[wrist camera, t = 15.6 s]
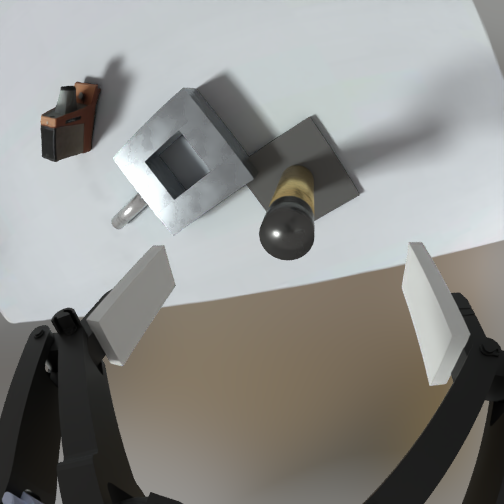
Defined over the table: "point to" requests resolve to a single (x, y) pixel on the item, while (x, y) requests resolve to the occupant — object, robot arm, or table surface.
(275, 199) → the gold and black cylinder
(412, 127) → the table surface
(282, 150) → the pad
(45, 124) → the electronic device
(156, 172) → the block
